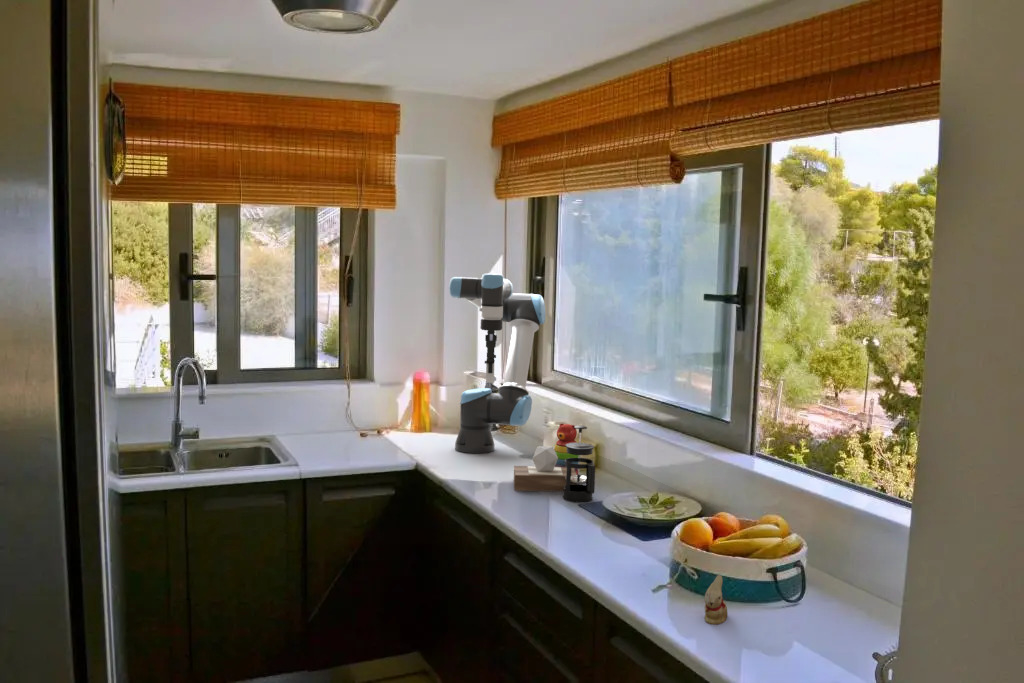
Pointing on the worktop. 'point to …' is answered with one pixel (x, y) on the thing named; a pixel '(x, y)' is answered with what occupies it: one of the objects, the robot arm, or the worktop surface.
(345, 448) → the worktop surface
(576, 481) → the french press
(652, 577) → the worktop surface
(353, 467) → the worktop surface
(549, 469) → the die
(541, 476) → the block
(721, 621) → the chocolate bunny
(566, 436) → the stacking bear
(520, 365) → the robot arm
